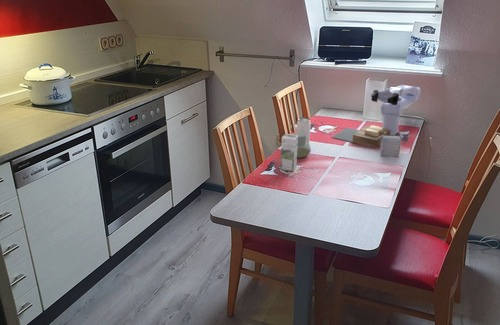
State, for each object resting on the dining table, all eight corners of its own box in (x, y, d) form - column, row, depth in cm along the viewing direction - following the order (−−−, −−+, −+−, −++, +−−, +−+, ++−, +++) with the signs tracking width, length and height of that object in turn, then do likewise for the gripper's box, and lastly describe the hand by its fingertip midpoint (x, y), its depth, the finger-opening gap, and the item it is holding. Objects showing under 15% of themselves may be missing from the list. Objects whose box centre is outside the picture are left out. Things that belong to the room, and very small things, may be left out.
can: (311, 142, 221) (312, 118, 216) (306, 146, 215) (308, 122, 211) (298, 139, 223) (299, 116, 219) (294, 144, 218) (295, 120, 213)
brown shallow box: (366, 132, 234) (367, 125, 233) (389, 137, 228) (390, 129, 226) (352, 142, 221) (353, 134, 219) (376, 148, 214) (377, 140, 213)
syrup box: (296, 166, 193) (298, 134, 188) (293, 172, 188) (295, 139, 182) (283, 165, 195) (285, 132, 189) (280, 170, 190) (281, 137, 184)
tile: (371, 129, 227) (372, 125, 226) (383, 131, 224) (383, 127, 223) (364, 133, 220) (365, 130, 220) (376, 136, 217) (377, 132, 216)
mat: (346, 128, 240) (346, 127, 240) (365, 132, 234) (365, 131, 234) (331, 137, 226) (331, 137, 226) (351, 142, 221) (351, 141, 221)
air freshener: (288, 160, 200) (289, 138, 196) (283, 153, 208) (284, 132, 204) (312, 158, 202) (314, 137, 198) (306, 151, 210) (307, 130, 206)
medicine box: (397, 153, 208) (399, 135, 205) (399, 157, 204) (401, 139, 201) (379, 152, 209) (381, 135, 205) (380, 156, 205) (383, 138, 201)
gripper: (376, 85, 225) (366, 88, 214) (406, 89, 217) (397, 93, 207) (374, 99, 227) (364, 103, 217) (403, 104, 220) (394, 108, 209)
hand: (380, 99), depth 212 cm, fingers open, 7 cm apart
